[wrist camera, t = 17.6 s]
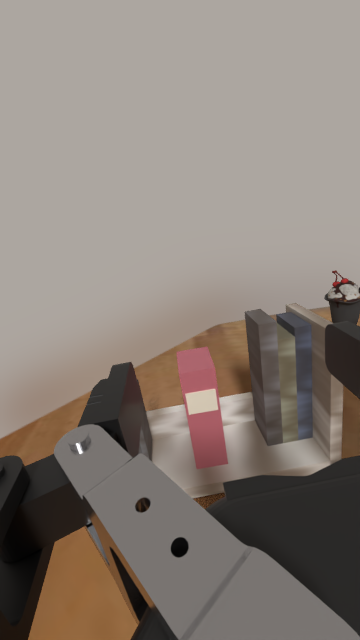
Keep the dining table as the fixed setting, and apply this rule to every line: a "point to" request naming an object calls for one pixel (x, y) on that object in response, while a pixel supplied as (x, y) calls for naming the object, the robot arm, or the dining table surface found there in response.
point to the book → (202, 407)
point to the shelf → (249, 435)
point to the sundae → (344, 301)
